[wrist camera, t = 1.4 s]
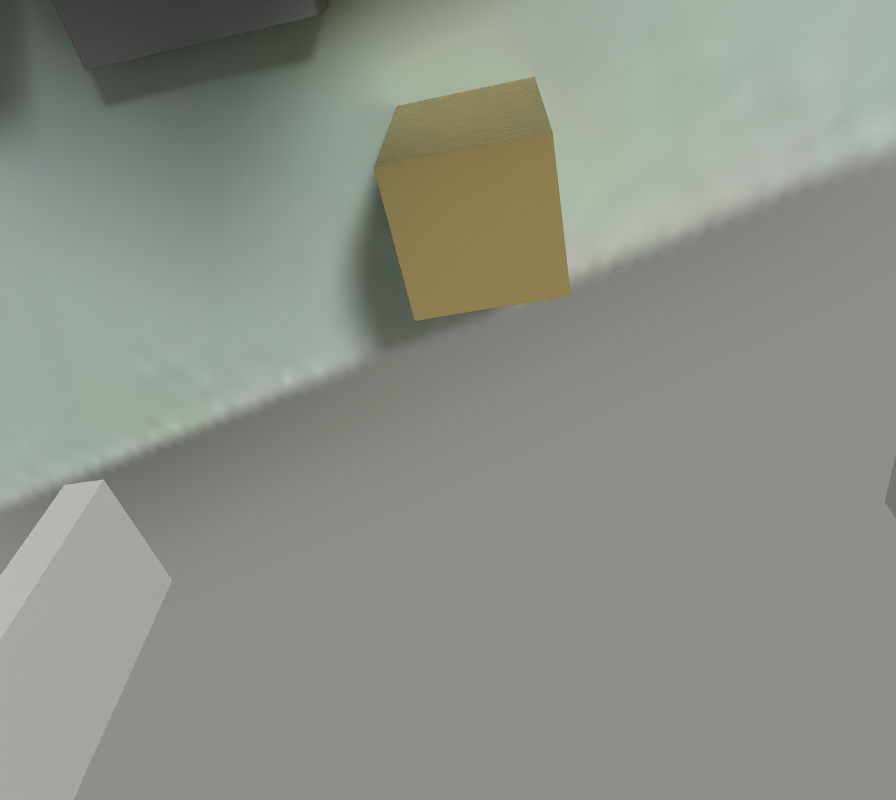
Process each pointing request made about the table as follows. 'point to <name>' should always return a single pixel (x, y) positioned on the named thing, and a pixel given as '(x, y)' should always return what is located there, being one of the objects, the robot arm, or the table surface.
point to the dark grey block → (167, 24)
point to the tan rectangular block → (474, 200)
